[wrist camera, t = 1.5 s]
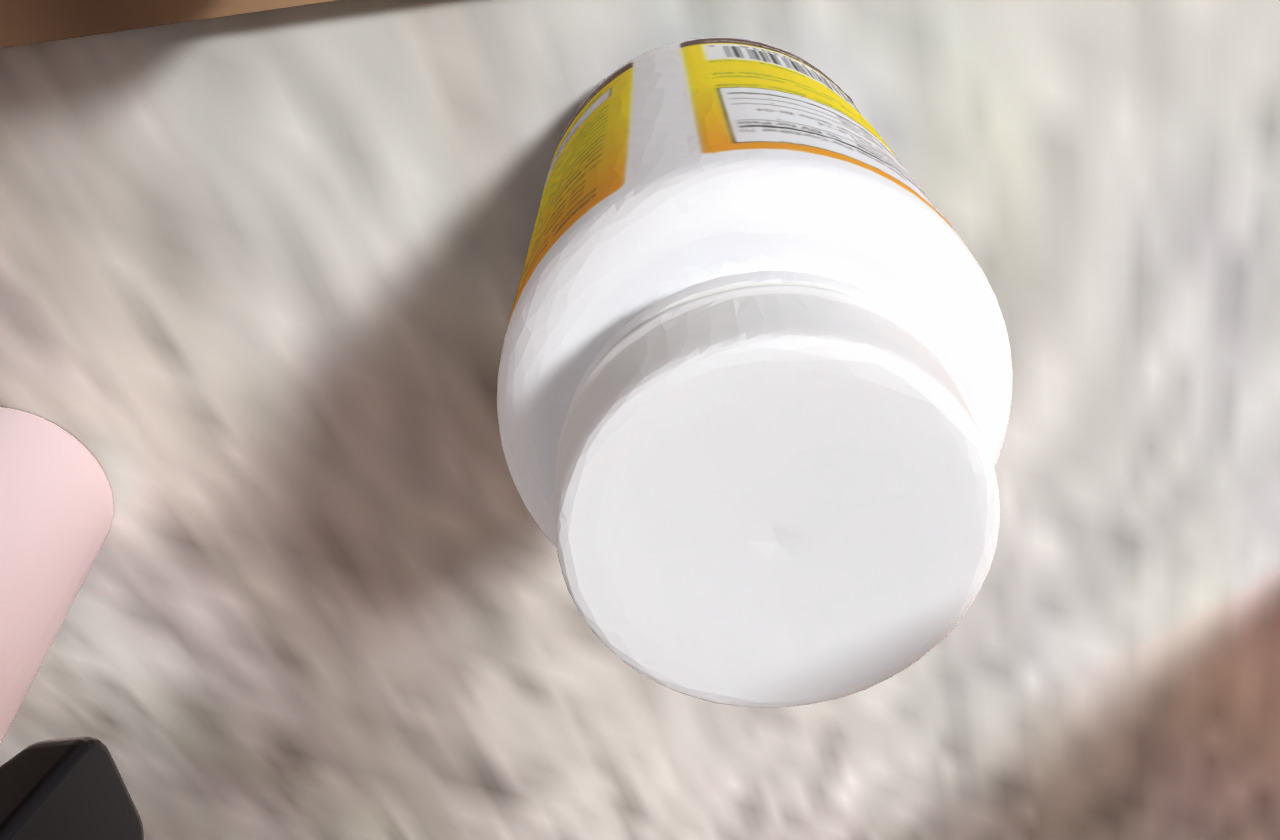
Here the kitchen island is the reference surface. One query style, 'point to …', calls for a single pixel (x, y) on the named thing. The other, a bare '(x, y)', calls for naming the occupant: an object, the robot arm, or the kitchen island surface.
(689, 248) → the supplement bottle
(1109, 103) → the kitchen island surface
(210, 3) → the caddy
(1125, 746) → the kitchen island surface
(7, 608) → the smoothie
